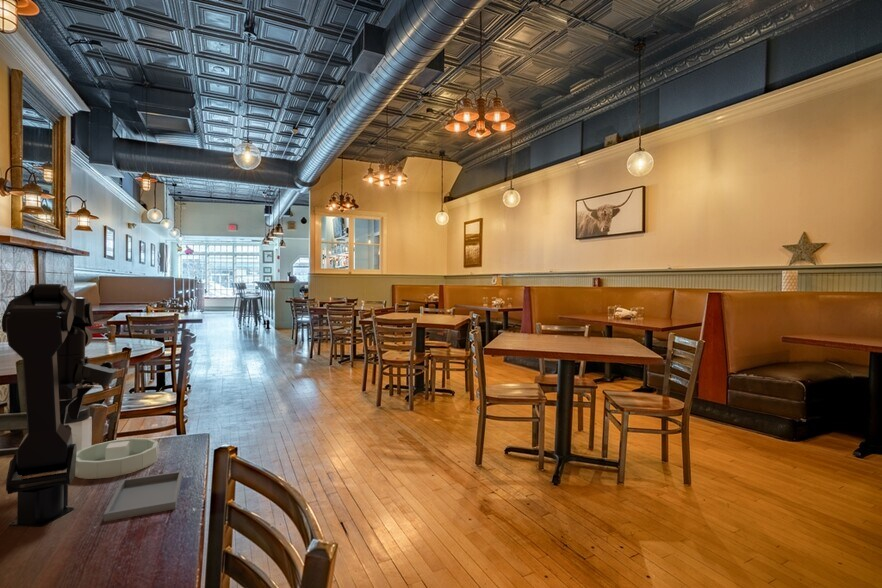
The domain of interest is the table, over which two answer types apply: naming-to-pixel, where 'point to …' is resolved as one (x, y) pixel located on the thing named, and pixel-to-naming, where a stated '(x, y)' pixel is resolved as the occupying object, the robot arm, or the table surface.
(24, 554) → the table surface
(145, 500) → the parts tray
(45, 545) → the table surface
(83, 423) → the lidded white canister
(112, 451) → the block
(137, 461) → the bowl
